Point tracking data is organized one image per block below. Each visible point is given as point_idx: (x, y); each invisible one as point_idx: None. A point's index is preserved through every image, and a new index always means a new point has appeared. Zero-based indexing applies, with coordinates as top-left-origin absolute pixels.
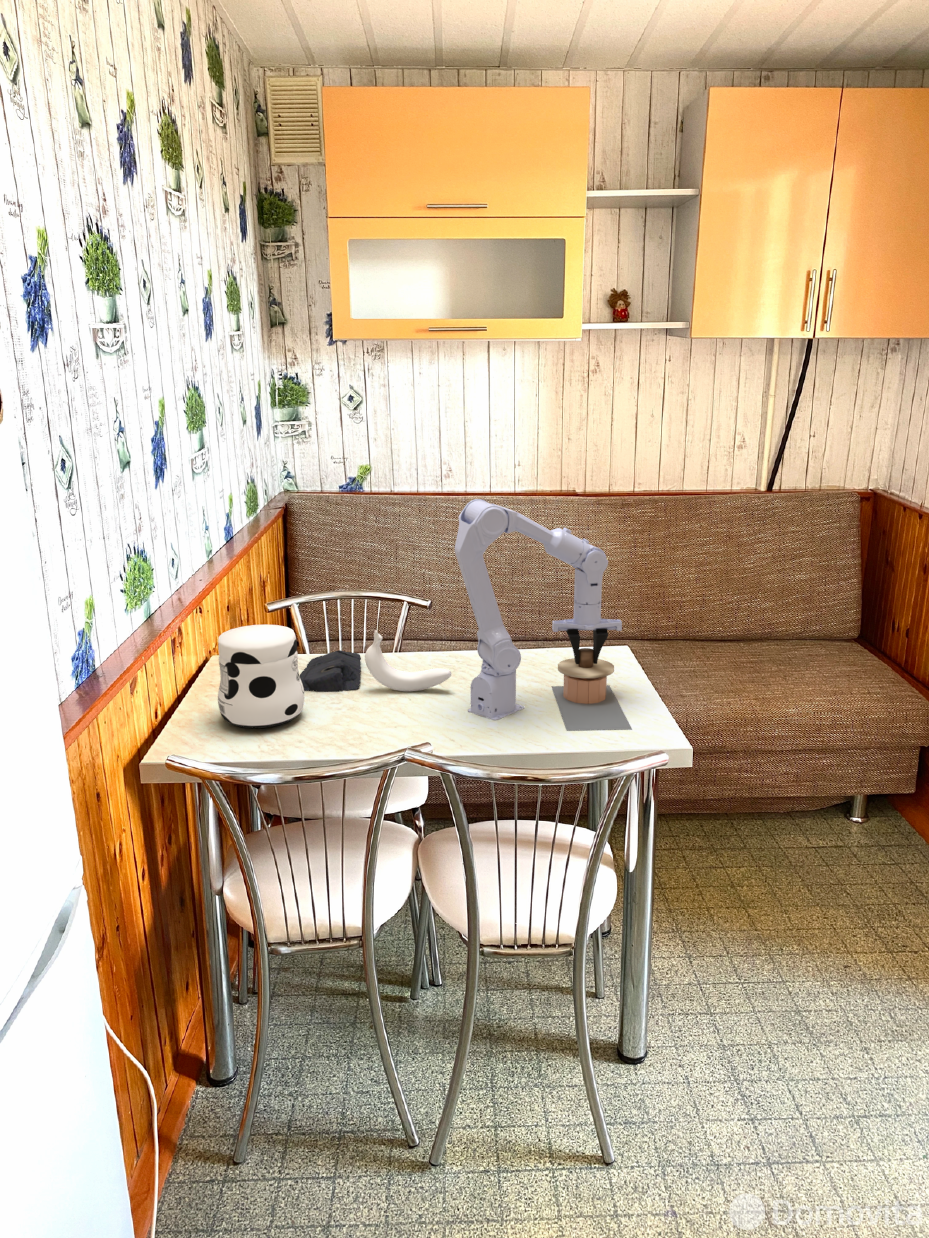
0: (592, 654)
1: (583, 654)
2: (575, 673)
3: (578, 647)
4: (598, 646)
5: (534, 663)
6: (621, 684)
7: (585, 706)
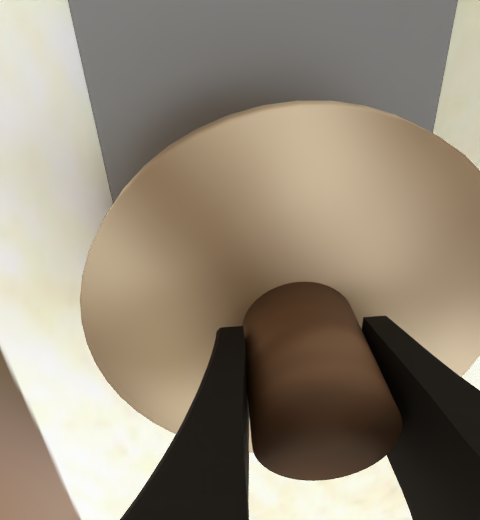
0: (267, 384)
1: (364, 371)
2: (438, 143)
3: (467, 428)
4: (211, 456)
5: (386, 500)
6: (95, 366)
7: (290, 73)
